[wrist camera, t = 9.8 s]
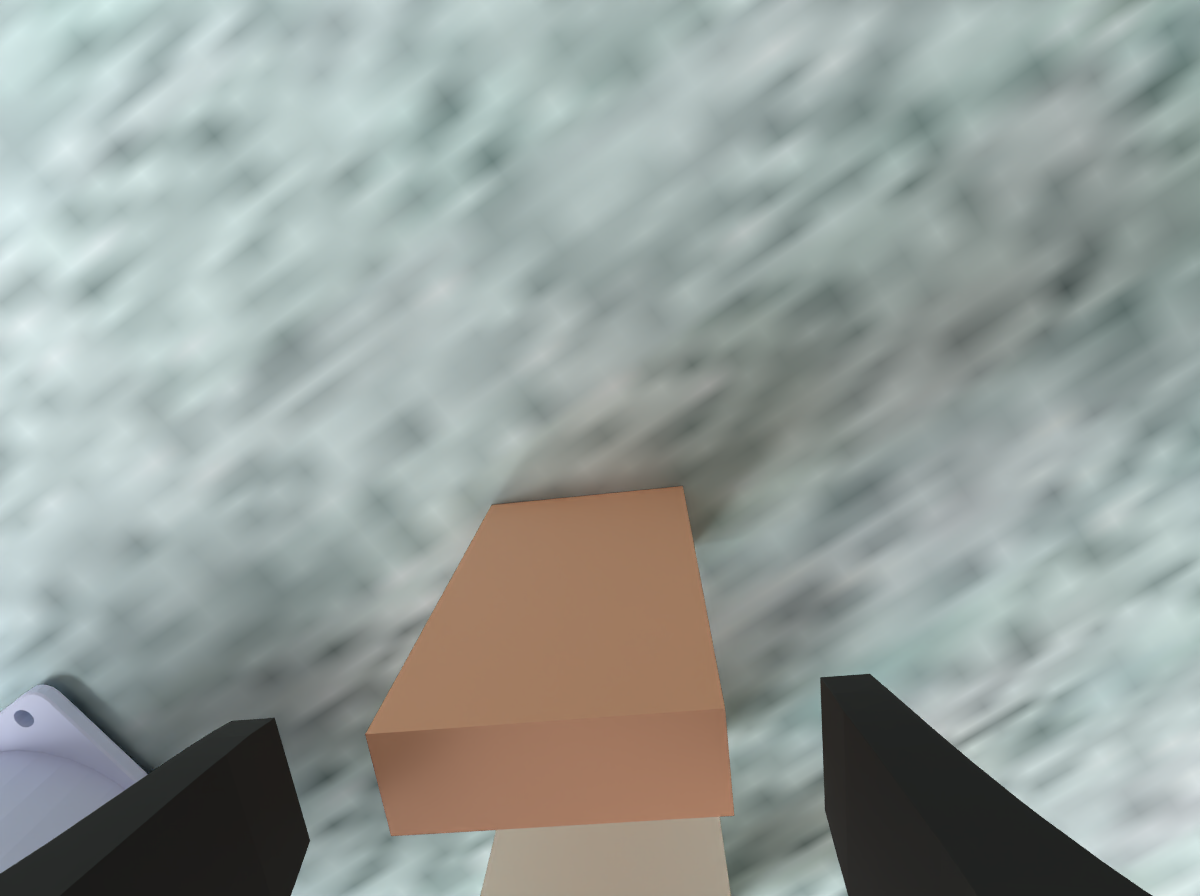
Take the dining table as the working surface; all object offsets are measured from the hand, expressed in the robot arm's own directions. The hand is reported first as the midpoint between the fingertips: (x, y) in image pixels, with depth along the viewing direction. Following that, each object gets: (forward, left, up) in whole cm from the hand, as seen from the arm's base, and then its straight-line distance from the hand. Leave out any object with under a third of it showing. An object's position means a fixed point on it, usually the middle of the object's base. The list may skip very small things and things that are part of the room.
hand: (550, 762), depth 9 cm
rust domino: (0, 0, -8) cm, 8 cm away
